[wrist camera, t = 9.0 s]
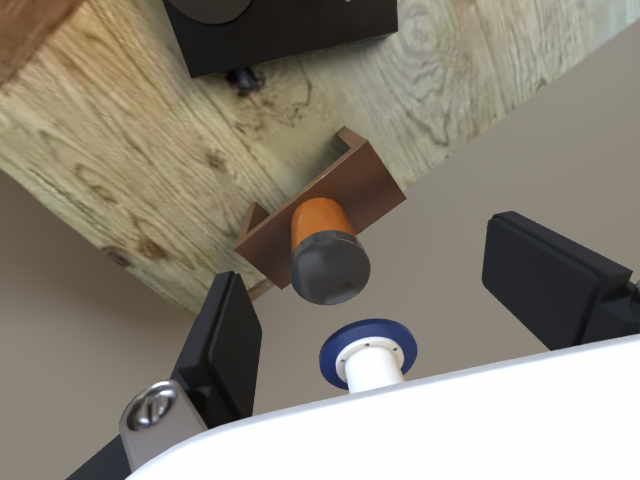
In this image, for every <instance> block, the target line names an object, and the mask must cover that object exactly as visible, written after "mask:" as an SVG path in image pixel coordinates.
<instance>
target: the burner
mask: <svg viewBox="0 0 640 480" xmlns="http://www.w3.org/2000/svg"><path fill="white" fill-rule="evenodd" d="M168 1H169V2H170V3H171V4H172V5H173V6H174V7H175V8H176V9H178V10H179V11H180V12H181V13H183V14H184V15H186V16H187V17H189V18H190V19H193V20H195V21H197V22H200V23H203V24H208V25H222V24H226V23H229V22H232V21H234V20H236V19H237V18H238V17H240V16H241V15H242V14H243V13H244V12H245V11H246V10H247V9H248V7H249V6H250V4H251V2H252V1H253V0H168Z"/></svg>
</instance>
